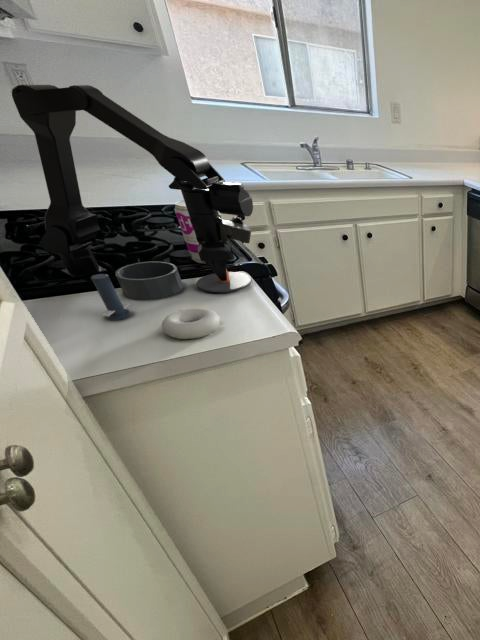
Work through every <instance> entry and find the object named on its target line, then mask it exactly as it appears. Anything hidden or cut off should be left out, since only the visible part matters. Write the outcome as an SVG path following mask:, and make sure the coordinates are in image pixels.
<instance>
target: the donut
mask: <svg viewBox="0 0 480 640" xmlns="http://www.w3.org/2000/svg"><path fill="white" fill-rule="evenodd" d="M220 325H221V318H220V315H218V313H216V312H215V311H214V310H211V309H208V308H204V307H189V308H183V309H179V310H176V311H173V312H171V313H169V314H168V315H166V316H165V318H164V319H163V320H162V322H161V328H162V331H163V332H164V333H165V334H166V335H167V336H168V337H172V338H175V339H180V340H192V339H199V338H203V337H206V336H209V335H211V334H213V333H214V332H216V331H217V330H218V329H219V327H220Z"/></svg>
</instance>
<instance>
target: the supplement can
mask: <svg viewBox="0 0 480 640" xmlns="http://www.w3.org/2000/svg"><path fill="white" fill-rule="evenodd" d="M174 204H175V206H174V213H175V215H176V219H177V222H178V225H179V228H180V231H181V233H182V235H183V239H184V241H185V244H186V247H187V250H188V254H189V256H190V259H191V260H193V261H194V262H196V263H198V264H203V265H205V264H206V263H205V262H203V261H201V260H200V257H199V254H198V247H199V243H198V242H197V239H196V235H195V232H194V229H193V225H192V224H191V221H190V217H189V213H188V210H187V207H186V204H185V201H184V199H182V200H178V201H176V202H175V203H174ZM206 265H207V264H206Z"/></svg>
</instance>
